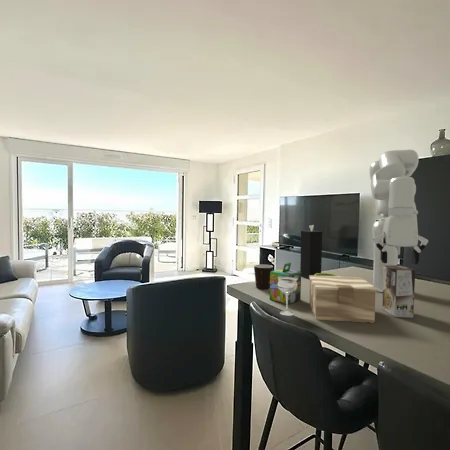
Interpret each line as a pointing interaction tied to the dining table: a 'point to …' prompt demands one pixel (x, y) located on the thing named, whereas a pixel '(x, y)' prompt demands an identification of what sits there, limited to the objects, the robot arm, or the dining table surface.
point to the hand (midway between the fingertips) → (399, 263)
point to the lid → (342, 286)
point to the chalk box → (274, 290)
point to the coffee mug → (262, 276)
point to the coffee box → (398, 290)
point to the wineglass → (287, 290)
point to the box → (342, 306)
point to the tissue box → (311, 252)
